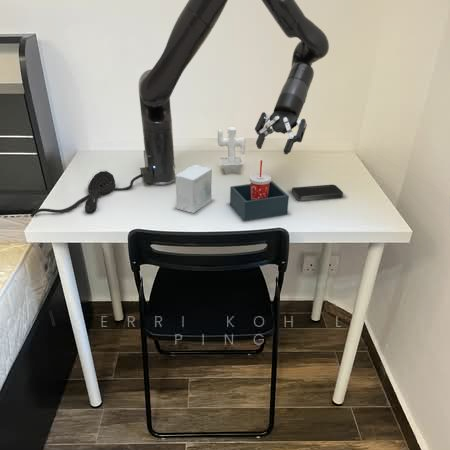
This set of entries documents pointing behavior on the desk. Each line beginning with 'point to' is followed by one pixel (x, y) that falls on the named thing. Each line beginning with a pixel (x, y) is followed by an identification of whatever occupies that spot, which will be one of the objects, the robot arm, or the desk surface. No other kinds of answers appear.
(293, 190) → the phone
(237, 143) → the figurine
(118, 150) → the desk surface
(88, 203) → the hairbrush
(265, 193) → the beverage cup
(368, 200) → the desk surface
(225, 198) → the desk surface
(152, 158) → the robot arm
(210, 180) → the cosmetics box
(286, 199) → the tub
